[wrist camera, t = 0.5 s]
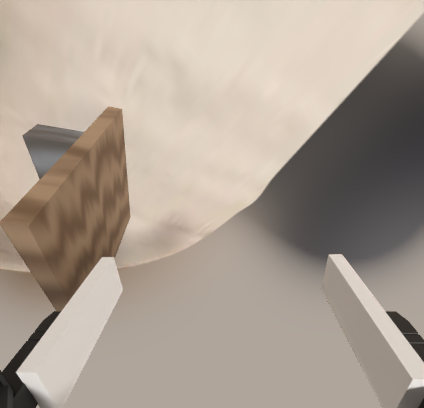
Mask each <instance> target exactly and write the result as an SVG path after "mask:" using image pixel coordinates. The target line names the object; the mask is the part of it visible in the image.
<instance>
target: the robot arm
mask: <svg viewBox="0 0 424 408" xmlns="http://www.w3.org/2000/svg"><path fill="white" fill-rule="evenodd" d="M122 291H123V288H122V285H121V281H120V277H119V274H118V270H117V267H116V263H115V260H114V257H102V258H101V259H100V260H99V262H98V263H97V264H96V266H95V267H94V268H93V270H92V271H91V272H90V274H89V275H88V276H87V278H86V279H85V280H84V282H83V283H82V284H81V286H80V287H79V288H78V290H77V291H76V293H75V294H74V295H73V297H72V298H71V299H70V301H69V302H68V303H67V305H66V306H65V307H64V309H63V310H62V311H54V312H53V313H52V314H51V315H50V316H48V317H47V318H46V319H44V320H43V322H42V323H41V324H40V325H39V326H38V328H37V329H36V330H35V333H33V334H32V335H31V336H30V338H29V339H28V341H26V343H25V344H24V345H23V346H22V348H21V349H20V350H19V352H18V353H17V354H16V355H15V356H14V358H13V359H12V360H11V362H10V363H9V364H8V365H7V367H6V368H5V369H4V370H3V372H1V370H0V408H36V406H37V404H38V405H39V407H40V408H63V406H64V404H65V402H66V400H67V398H68V396H69V394H70V392H71V390H72V388H73V386H74V385H75V383H76V381H77V379H78V377H79V375H80V373H81V371H82V369H83V367H84V365H85V363H86V361H87V359H88V357H89V355H90V353H91V351H92V349H93V347H94V345H95V343H96V341H97V339H98V337H99V336H100V334H101V332H102V330H103V328H104V326H105V324H106V322H107V320H108V318H109V316H110V314H111V312H112V310H113V308H114V307H115V304H116V303H117V301H118V299H119V297H120V295H121V293H122ZM322 291H323V293H324V295H325V297H326V299H327V301H328V303H329V305H330V307H331V309H332V311H333V313H334V314H335V317H336V318H337V320H338V322H339V324H340V326H341V328H342V330H343V332H344V334H345V336H346V337H347V340H348V342H349V344H350V346H351V347H352V350H353V352H354V353H355V355H356V357H357V359H358V361H359V363H360V365H361V367H362V369H363V371H364V373H365V375H366V377H367V379H368V381H369V383H370V384H371V386H372V388H373V390H374V392H375V394H376V396H377V398H378V400H379V402H380V404H381V406H382V407H383V408H424V340H423V338H422V337H421V336H420V335H418V332H417V331H416V330H415V329H414V327H413V326H412V325H411V324H410V323H409V322H408V321H407V320H406V319H405V318H403V317H402V316H401V315H399V314H398V313H397V312H385V311H384V309H383V308H382V307H381V305H380V304H379V303H378V302H377V300H376V299H375V297H374V296H373V295H372V293H371V292H370V291H369V289H368V288H367V287H366V285H365V284H364V283H363V282H362V280H361V279H360V278H359V276H358V275H357V274H356V272H355V271H354V270H353V269H352V267H351V266H350V264H349V263H348V262H347V260H346V259H345V258H344V256H342V254H338V255H337V254H336V255H329V256H328V260H327V265H326V270H325V275H324V279H323V284H322Z"/></svg>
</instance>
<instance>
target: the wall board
mask: <svg viewBox="0 0 424 408" xmlns="http://www.w3.org/2000/svg"><path fill="white" fill-rule="evenodd" d="M23 138H24V141H25V143H26V146H27V148H28V151H29V154H30V156H31V159H32V161H33V164H34V166H35V169H36V171H37V174H38V176H39V179H40V180H39V181H38V182H37V183H36V184H35V185H34V186H33V187H32V189H31V190H30V191H29V192H28V193H27V194H26V195H25V196H24V197H23V198H22V199H21V200H20V201H19V202H18V203H17V205H16V206H15V207H14V208H13V209H12V210H11V211H10V212H9V213H8V214H7V215H6V216H5V217H4V218H3V219H2V220H1V222H0V225H1V227H2V228H3V230H4V231H5V233H6V234H7V236H8V237H9V239H10V240H11V242H12V243H13V245H14V247H15V248H16V250H17V251H18V253H19V254H20V256H21V257H22V259H23V260H24V262H25V263H26V265H27V267H28V268H29V270H30V271H31V273H32V274H33V276H34V277H35V279H36V280H37V282H38V283H39V285H40V286H41V288H42V290H43V291H44V293H45V294H46V296H47V297H48V299H49V300H50V302H51V303H52V305H53V307H54V308H55V309H56V311H62V310H63V309H64V307H65V306H66V305H67V303H68V302H69V301H70V299H71V298H72V297H73V295H74V294H75V293H76V291H77V290H78V288H79V287H80V286H81V284H82V283H83V282H84V280H85V279H86V278H87V276H88V275H89V274H90V272H91V271H92V270H93V268H94V267H95V266H96V264H97V263H98V262H99V260H100V259H101V258H102V257H114V259H115V256H116V253H117V251H118V248H119V245H120V243H121V240H122V237H123V235H124V232H125V229H126V227H127V224H128V221H129V219H130V207H129V194H128V181H127V169H126V156H125V143H124V130H123V117H122V109H118V108H113V107H108V108H107V109H106V110H105V111H104V112H103V113H102V114H101V115H100V116H99V117H98V118H97V119H96V120H95V121H94V123H93V124H92V125H91V126H90V127H89V128H88V129H87V130H86V131H85V132H80V131H74V130H68V129H62V128H56V127H51V126H45V125H39V124H38V125H36V126H35V127H33V128H32V129H31V130H29V131H28V132H27V133H25V134H24V135H23Z"/></svg>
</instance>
